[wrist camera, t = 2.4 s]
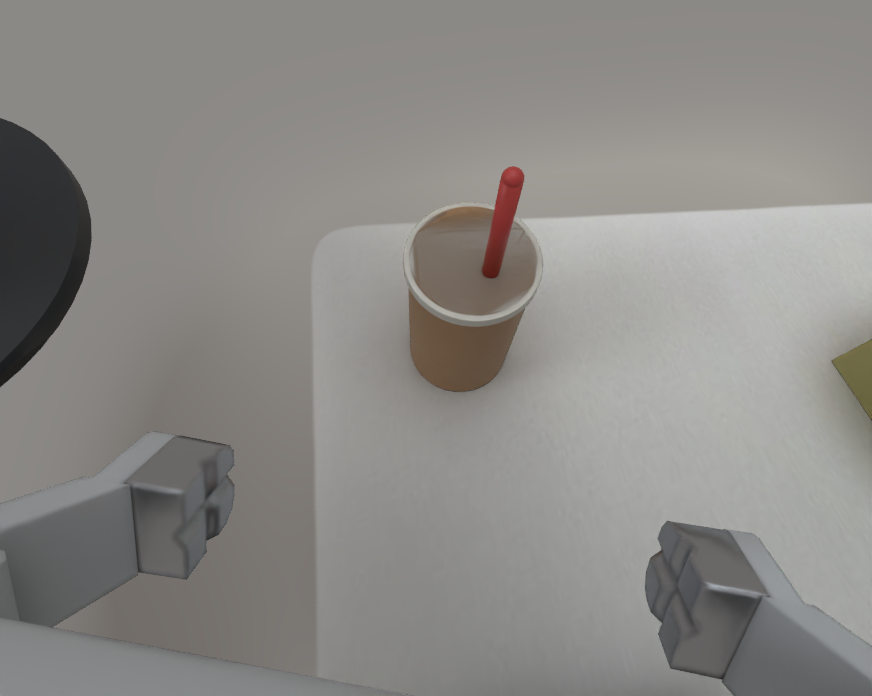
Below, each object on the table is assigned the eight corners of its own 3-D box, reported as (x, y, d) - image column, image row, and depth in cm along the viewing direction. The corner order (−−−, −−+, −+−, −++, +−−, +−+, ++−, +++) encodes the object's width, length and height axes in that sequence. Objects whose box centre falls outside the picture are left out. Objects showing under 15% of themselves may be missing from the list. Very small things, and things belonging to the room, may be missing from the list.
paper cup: (386, 351, 33) (359, 160, 18) (451, 284, 35) (476, 63, 20) (465, 415, 31) (509, 266, 16) (528, 342, 33) (619, 150, 18)
